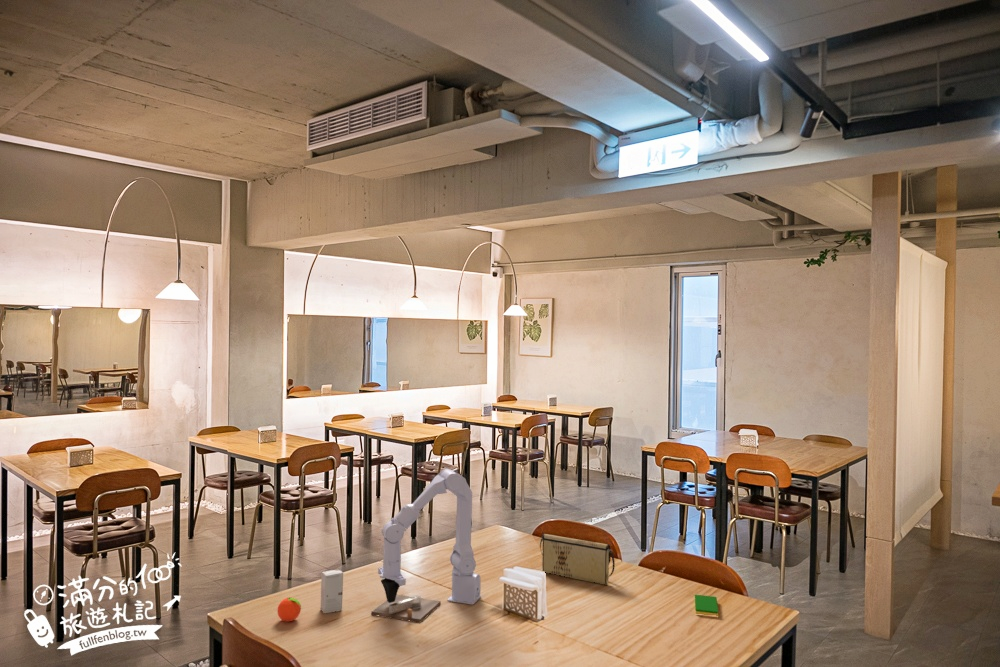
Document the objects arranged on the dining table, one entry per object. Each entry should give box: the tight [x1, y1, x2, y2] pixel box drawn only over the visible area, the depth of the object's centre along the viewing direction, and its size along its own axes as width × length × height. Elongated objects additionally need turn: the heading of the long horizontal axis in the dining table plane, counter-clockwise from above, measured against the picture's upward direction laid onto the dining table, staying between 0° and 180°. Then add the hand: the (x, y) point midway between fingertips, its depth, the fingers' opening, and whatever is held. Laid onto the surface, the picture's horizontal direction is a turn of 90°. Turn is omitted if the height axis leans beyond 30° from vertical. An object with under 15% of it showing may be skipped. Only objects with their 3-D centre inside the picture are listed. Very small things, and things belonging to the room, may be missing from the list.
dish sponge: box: [694, 594, 719, 617], centre depth 222 cm, size 7×14×2 cm, turn 164°
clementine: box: [277, 596, 303, 622], centre depth 206 cm, size 8×7×7 cm
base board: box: [370, 594, 441, 623], centre depth 217 cm, size 17×16×3 cm
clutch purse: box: [539, 533, 616, 586], centre depth 250 cm, size 30×7×15 cm, turn 61°
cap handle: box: [389, 595, 422, 614], centre depth 214 cm, size 12×4×2 cm, turn 136°
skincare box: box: [319, 569, 344, 614], centre depth 215 cm, size 6×4×12 cm
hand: (391, 601), depth 217 cm, fingers closed
